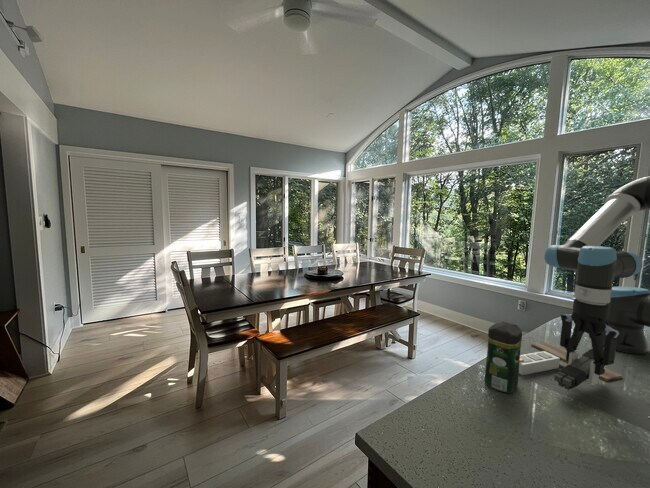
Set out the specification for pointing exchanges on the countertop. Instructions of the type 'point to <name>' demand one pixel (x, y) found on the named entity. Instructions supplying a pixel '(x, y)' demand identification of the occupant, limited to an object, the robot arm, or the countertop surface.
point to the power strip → (538, 362)
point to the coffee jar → (503, 357)
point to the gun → (575, 371)
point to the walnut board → (561, 354)
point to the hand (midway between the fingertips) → (582, 377)
